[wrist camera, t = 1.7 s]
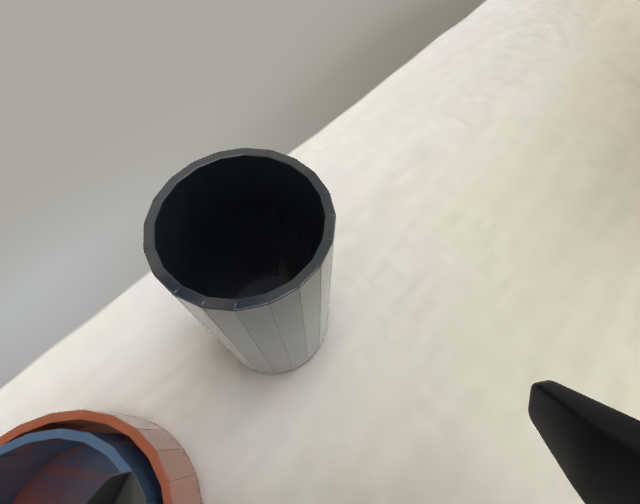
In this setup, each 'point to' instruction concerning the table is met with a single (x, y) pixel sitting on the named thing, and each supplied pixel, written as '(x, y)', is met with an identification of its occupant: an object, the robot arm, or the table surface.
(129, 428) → the stack bottom
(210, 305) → the tumbler
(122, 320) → the table surface
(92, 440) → the stack middle
